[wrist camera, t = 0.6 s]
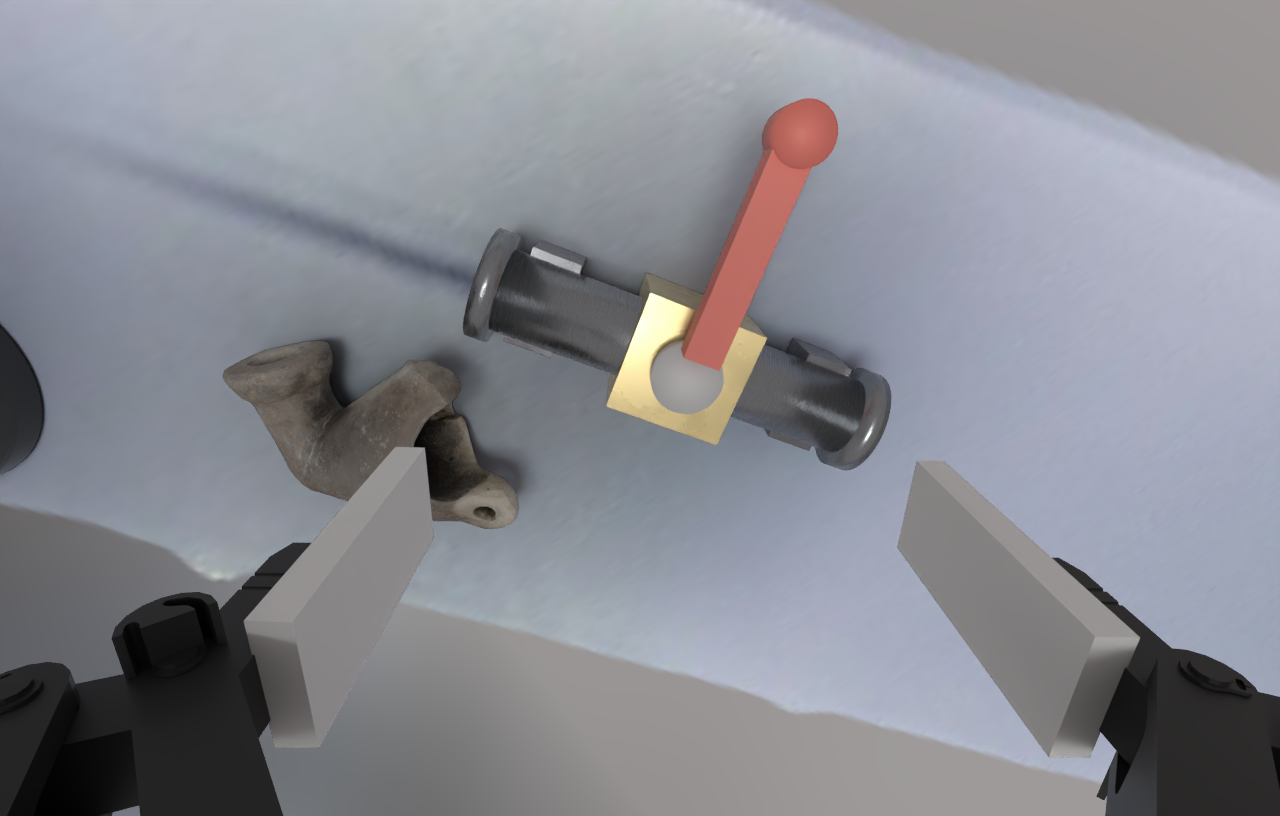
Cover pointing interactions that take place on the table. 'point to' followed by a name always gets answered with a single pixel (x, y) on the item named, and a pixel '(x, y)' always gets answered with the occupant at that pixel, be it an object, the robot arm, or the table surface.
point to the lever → (744, 256)
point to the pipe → (371, 430)
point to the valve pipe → (662, 314)
